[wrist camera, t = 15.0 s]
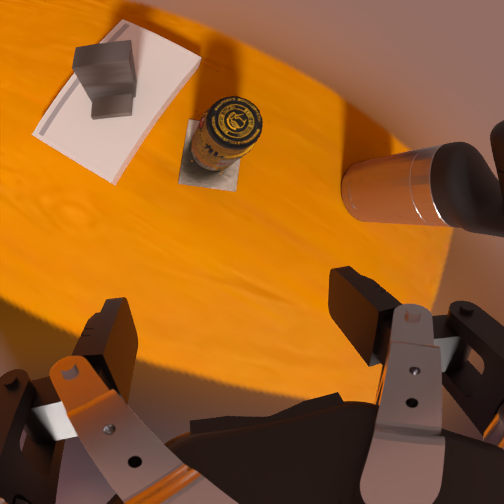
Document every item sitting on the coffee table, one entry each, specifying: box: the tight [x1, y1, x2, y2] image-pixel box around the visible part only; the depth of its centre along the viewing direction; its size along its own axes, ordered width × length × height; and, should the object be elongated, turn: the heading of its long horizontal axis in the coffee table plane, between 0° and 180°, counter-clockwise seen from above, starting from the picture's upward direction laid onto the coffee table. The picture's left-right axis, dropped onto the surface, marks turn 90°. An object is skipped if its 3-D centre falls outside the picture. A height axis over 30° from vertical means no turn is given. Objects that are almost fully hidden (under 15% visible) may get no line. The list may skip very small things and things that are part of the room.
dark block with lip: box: [72, 40, 137, 120], centre depth 25 cm, size 6×5×10 cm
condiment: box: [178, 96, 263, 192], centre depth 31 cm, size 7×8×12 cm
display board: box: [32, 19, 202, 186], centre depth 31 cm, size 19×13×3 cm
